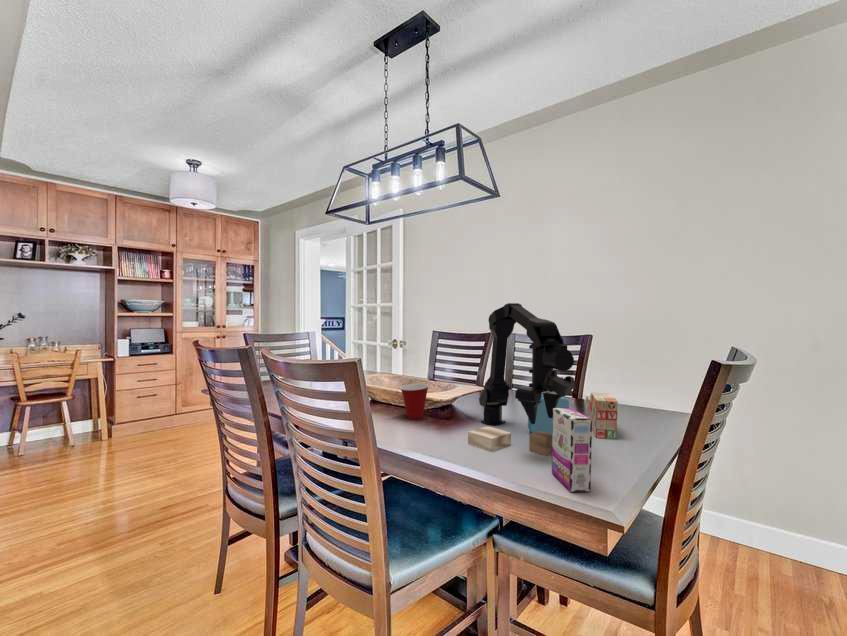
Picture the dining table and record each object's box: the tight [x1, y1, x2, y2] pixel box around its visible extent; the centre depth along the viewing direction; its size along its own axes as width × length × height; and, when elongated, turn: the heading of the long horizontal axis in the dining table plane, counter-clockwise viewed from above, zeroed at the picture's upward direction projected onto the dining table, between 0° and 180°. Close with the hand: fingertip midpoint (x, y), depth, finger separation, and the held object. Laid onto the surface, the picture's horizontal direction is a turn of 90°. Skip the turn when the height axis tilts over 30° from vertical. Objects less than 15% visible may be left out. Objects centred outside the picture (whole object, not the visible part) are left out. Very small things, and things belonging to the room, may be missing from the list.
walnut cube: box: [528, 431, 553, 457], centre depth 120 cm, size 5×5×5 cm
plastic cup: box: [399, 383, 430, 420], centre depth 156 cm, size 11×11×12 cm
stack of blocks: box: [585, 392, 619, 440], centre depth 142 cm, size 21×6×12 cm, turn 167°
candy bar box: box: [551, 407, 593, 493], centre depth 98 cm, size 11×5×16 cm, turn 5°
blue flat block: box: [527, 394, 570, 434], centre depth 137 cm, size 12×4×12 cm, turn 91°
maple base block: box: [467, 426, 512, 452], centre depth 126 cm, size 9×9×4 cm
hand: (541, 420), depth 120 cm, fingers open, 9 cm apart
